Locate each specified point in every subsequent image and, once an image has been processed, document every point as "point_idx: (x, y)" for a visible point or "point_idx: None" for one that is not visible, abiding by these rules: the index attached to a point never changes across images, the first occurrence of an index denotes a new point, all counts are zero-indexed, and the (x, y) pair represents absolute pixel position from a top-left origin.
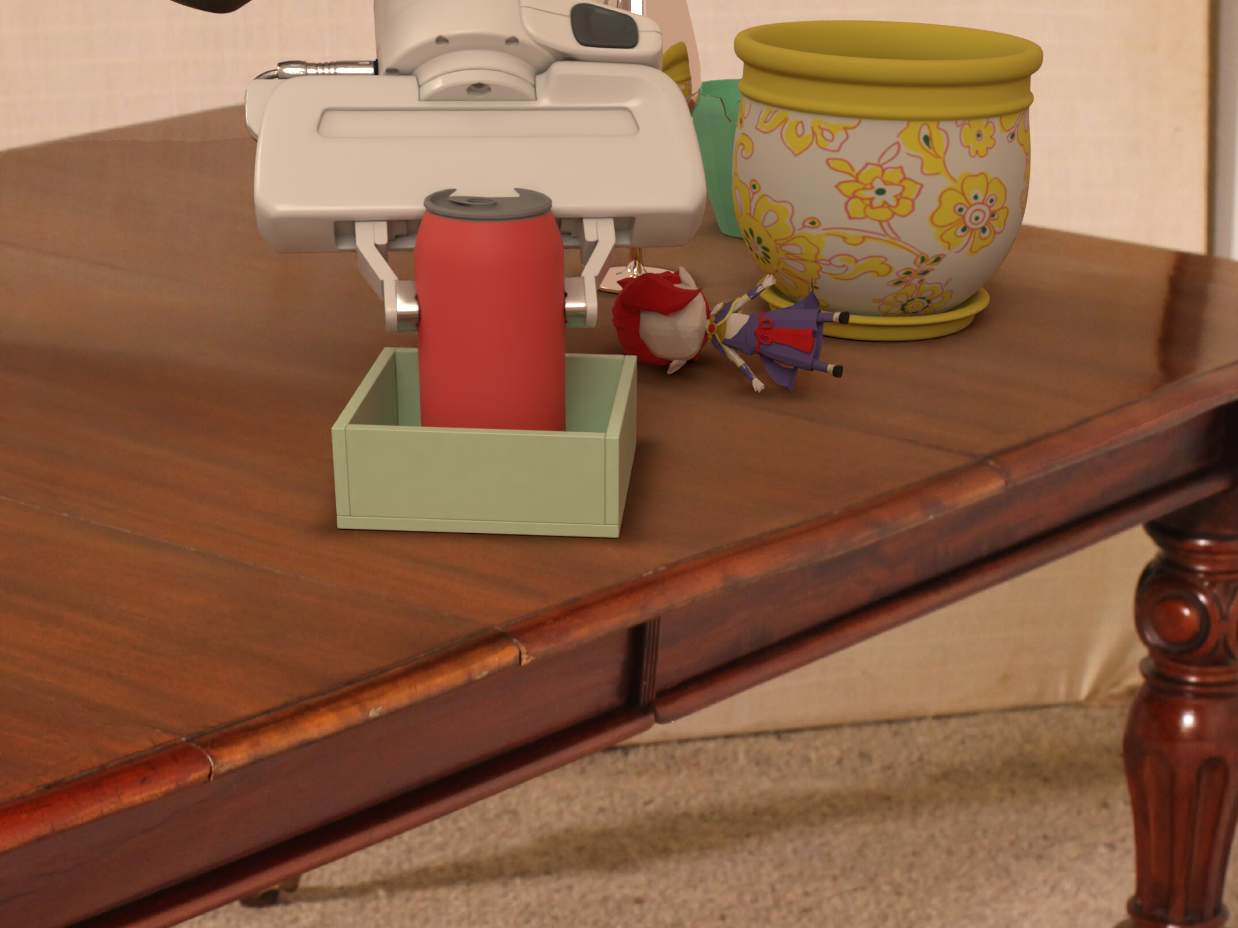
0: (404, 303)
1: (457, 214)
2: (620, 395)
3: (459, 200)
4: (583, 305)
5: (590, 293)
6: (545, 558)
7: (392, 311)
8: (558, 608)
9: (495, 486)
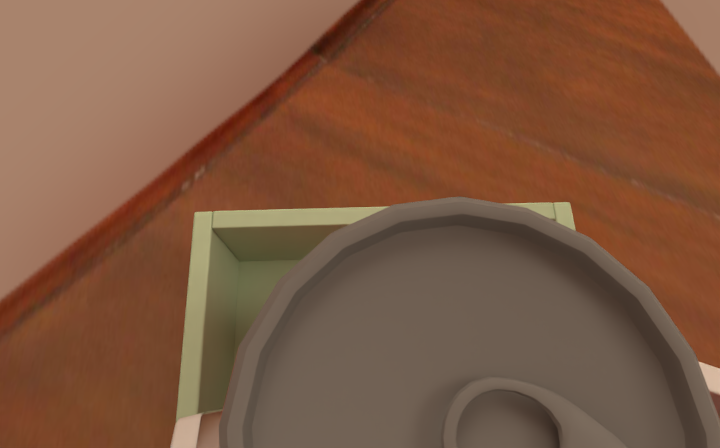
0: None
1: (521, 207)
2: (189, 404)
3: (584, 418)
4: (208, 415)
5: (184, 441)
6: (300, 196)
7: None
8: (278, 97)
9: None
